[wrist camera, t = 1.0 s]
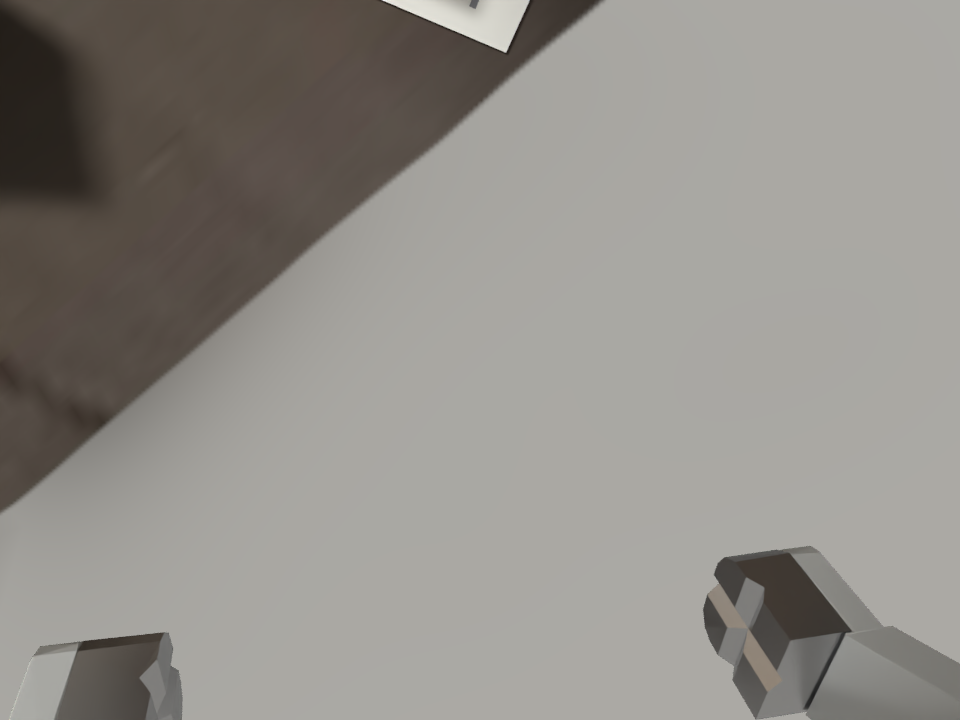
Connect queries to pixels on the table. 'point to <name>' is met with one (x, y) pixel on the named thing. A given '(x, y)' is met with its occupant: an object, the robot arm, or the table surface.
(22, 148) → the table surface
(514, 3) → the letter
